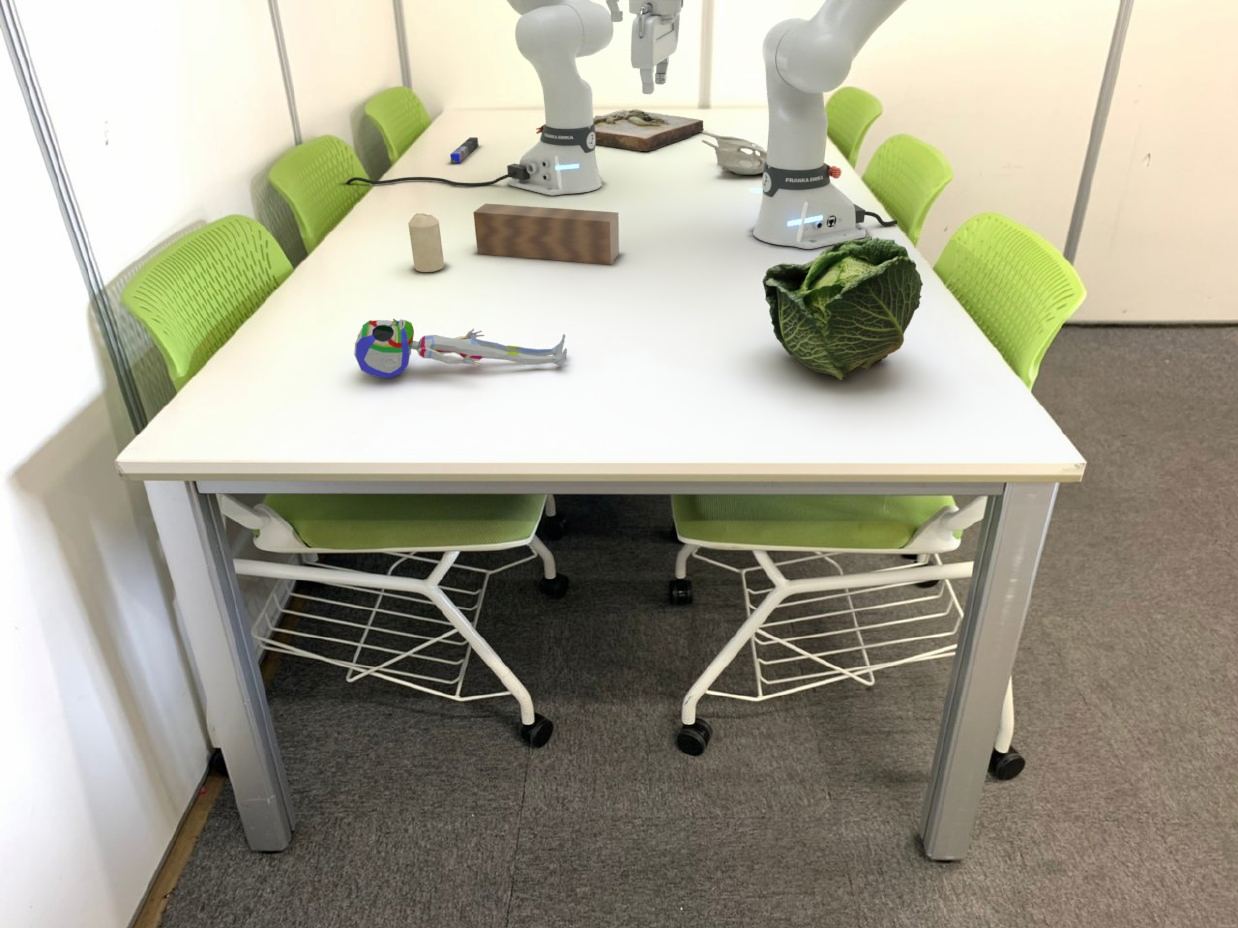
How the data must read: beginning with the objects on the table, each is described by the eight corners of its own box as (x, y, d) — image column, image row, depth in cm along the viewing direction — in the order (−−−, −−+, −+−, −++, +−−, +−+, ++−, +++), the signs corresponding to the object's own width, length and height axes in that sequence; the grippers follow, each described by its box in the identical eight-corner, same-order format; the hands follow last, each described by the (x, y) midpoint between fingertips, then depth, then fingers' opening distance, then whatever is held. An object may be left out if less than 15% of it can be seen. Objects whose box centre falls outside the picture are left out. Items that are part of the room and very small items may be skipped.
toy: (569, 347, 126) (349, 329, 122) (563, 400, 131) (350, 385, 126) (565, 318, 135) (359, 301, 130) (559, 369, 139) (360, 354, 134)
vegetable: (793, 390, 139) (734, 280, 131) (892, 320, 140) (840, 208, 132) (858, 421, 121) (795, 296, 113) (972, 341, 122) (917, 212, 114)
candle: (449, 263, 170) (443, 211, 164) (435, 273, 165) (428, 220, 160) (423, 261, 171) (416, 208, 166) (409, 270, 167) (401, 217, 161)
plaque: (647, 125, 237) (559, 112, 252) (647, 153, 241) (560, 139, 256) (706, 107, 258) (622, 97, 273) (705, 133, 262) (622, 121, 277)
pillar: (477, 137, 250) (458, 155, 233) (478, 145, 251) (458, 163, 234) (469, 137, 250) (449, 154, 233) (470, 145, 251) (450, 163, 235)
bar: (477, 254, 175) (473, 212, 170) (489, 244, 180) (485, 203, 175) (610, 265, 168) (609, 221, 164) (619, 254, 173) (618, 212, 169)
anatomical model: (704, 128, 226) (804, 127, 222) (703, 165, 231) (801, 165, 227) (699, 142, 214) (805, 141, 210) (699, 181, 219) (803, 181, 215)
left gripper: (656, -66, 174) (655, 13, 181) (582, -62, 161) (585, 23, 169) (681, -66, 170) (679, 15, 178) (608, -61, 158) (609, 25, 165)
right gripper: (659, 7, 142) (658, 100, 149) (685, -5, 158) (683, 79, 166) (620, 7, 143) (622, 99, 151) (650, -5, 160) (650, 78, 167)
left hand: (633, 19), depth 173 cm, fingers open, 8 cm apart
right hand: (654, 88), depth 158 cm, fingers open, 8 cm apart
